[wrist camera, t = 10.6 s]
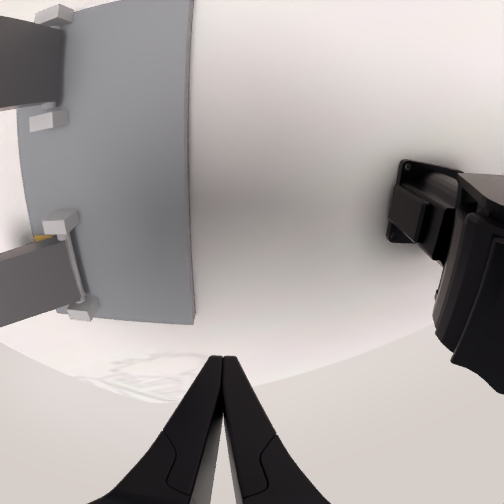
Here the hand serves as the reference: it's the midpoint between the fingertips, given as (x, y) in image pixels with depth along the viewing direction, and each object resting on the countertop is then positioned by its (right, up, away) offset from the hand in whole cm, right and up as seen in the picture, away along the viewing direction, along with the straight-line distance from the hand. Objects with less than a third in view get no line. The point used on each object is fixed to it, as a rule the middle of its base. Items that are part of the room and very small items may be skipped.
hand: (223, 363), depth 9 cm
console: (-10, +9, +9) cm, 16 cm away
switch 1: (-12, +15, +3) cm, 20 cm away
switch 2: (-12, +2, +10) cm, 16 cm away
